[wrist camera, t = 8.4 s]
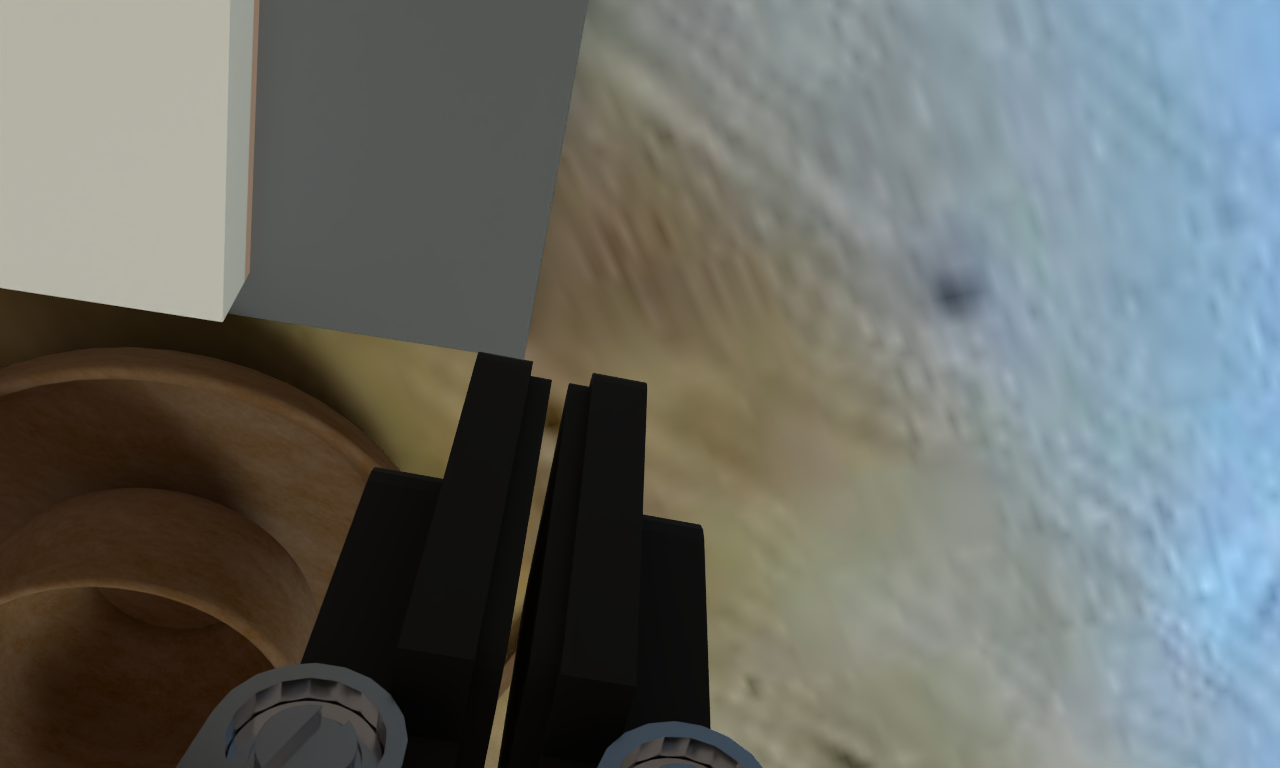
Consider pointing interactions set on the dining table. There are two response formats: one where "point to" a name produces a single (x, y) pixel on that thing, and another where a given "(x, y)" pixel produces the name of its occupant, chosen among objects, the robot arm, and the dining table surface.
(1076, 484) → the dining table surface
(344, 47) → the mat
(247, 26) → the tile
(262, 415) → the place setting
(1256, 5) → the dining table surface
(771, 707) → the dining table surface
